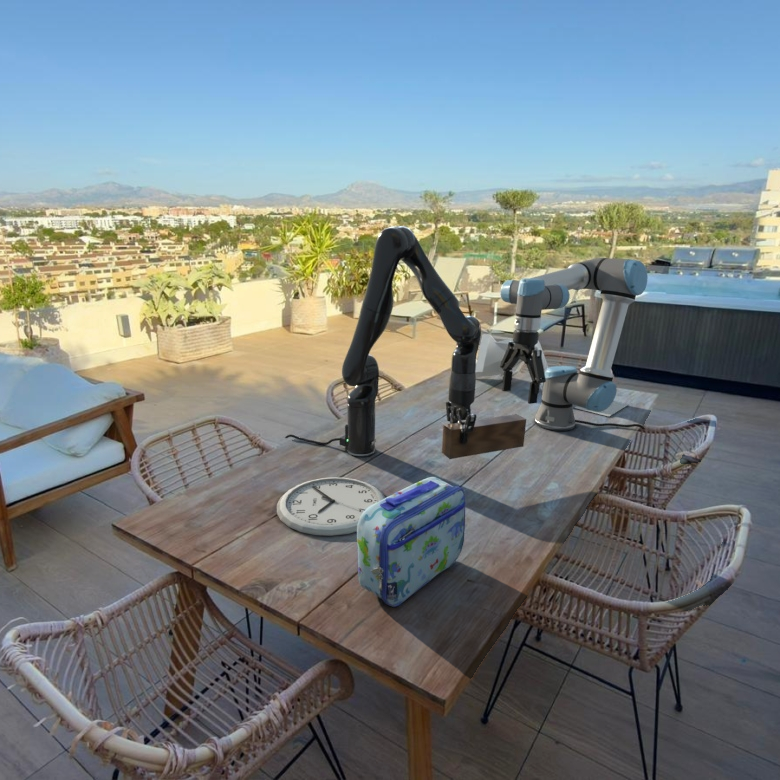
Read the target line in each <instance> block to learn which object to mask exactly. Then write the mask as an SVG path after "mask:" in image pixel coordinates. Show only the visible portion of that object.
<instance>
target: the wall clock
mask: <svg viewBox="0 0 780 780" xmlns="http://www.w3.org/2000/svg"><path fill="white" fill-rule="evenodd" d="M385 498H386V496H385V494H384V493H383V492H382V491H381V490H380V489H379V488H377V487H376V486H374V485H372V484H371V483H369V482H365V481H362V480H359V479H355V478H349V477H338V476H337V477H335V476H333V477H332V476H331V477H322V478H317V479H312V480H307V481H305V482H302V483H299V484H297V485H295V486H293V487H292V488H290V489H288V490H287V491H286V492H285V493H284V494H283V495H281V496H280V498H279V499H278V502H277V503H276V515H277V517H278V518H279V520H280V521H281V522H282V523H283V524H285V525H286V526H287V527H288V528H290V529H293V530H295V531H297V532H299V533H303V534H308V535H312V536H327V537H328V536H329V537H331V536H332V537H333V536H342V535H350V534H352V533H357V526H358V522H359V519H360V517H361V515H362V513H363V512H364V511H365V510H366V509H367V508H368V507H369V506H371V505H373V504H375V503H377V502H379V501H381V500H383V499H385Z"/></svg>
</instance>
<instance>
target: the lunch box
mask: <svg viewBox="0 0 780 780" xmlns="http://www.w3.org/2000/svg"><path fill="white" fill-rule="evenodd" d="M465 528H466V494H465V490H464V489H463V487H461V486H458V485H456V486H454V485H451V484H450V483H448V482H446V481H444V480H442V479H440V478H438V477H436V476H430V477H426V478H424V479H421V480H420V481H417V482H415V483H413V484H411V485H409V486H407V487H405V488H402V489H401V490H399V491H396V492H395V493H393V494H390V495H389V496H387V497H385V499H383V500H381V501H379V502H377V503H375V504H373V505H371V506H369V507H368V508H367V509H366V510H365V511H364V512H363V513H362V515H361V517H360V519H359V522H358V526H357V532H356V549H357V550H356V551H357V552H356V553H357V577H358V583H359V585H360V587H361V588H362V589H364V590H366V591H368V592H370V593H372V594H374V595H375V596H377V598H379V599H381V600H382V602H383V603H384V604H385V605H387V606H390V607H393V608H394V607H398V606H400V605H402V604H403V603H404V602H405V601H406V600H408V599H409V598H410V597H411V596H412V595H414V594H416V592H418V591H419V590H420V589H422V588H423V587H424V586H426V585H427V584H428V583H430V582H431V581H432V579H434V578H435V577H436V576H438V575H439V574H440V573H442V572H444V571H446V570H447V569H449V568H450V567H451V566H452V565H454V563H456V561H457V560H458V558H459V557H460V555H461V553H462V550H463V547H464V542H465V530H466V529H465Z"/></svg>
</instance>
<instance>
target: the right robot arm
mask: <svg viewBox="0 0 780 780" xmlns="http://www.w3.org/2000/svg"><path fill="white" fill-rule="evenodd" d="M648 278H649V277H648V271H647V267H646V265H645V264H644V263H643V262H642V261H641V260H637V259H630V258H610V257H596V258H591V259H587V260H582V261H580V262H575V263H572V264H570V265H569V266H568V267H567V268H564V269H560V270H556V271H552V272H548V273H544V274H540V275H537V276H533V277H530V278H525V277H524V278H521V279H520V280H515V279H508V280H506V281H504V282H503V283H502V285H501V288H500V298H501V300H502V301H503V302H505V303H507V304H511V305H516V306H515V307H516V309H515V317H514V326H513V329H514V330H513V334H512V338H513V342H509V343H508V348H507V350H506V353H505V355H504V357H503V359H502V362H501V364H500V367H501V368H503V371H504V375H502V376H503V377H502V380H503V382H502V390H501V391H502V392H510V391H511V389H512V380H513V368H515V367H514V365H515V364H516V363H517V362H518V360H522V362H523V363H524V364H525V365H526V367H527V370H528V373H529V376H530V379H531V382H530V383H529V390H528V391H529V393H528V399H527V403H528V404H530V405H532V404H537V403H538V395H539V393H540V383H541V384H542V394H541V402H540V405H539V407H538V410H537V411H536V413H535V416H534V424H535V425H536V426H537V427H539V428H542V429H544V430H549V431H556V432H567V431H572V430H574V429H575V428H576V423H577V424H584V425H588V426H593V427H620V428H634V427H638V428H640V429H641V430H646V428H645V426H643V424H642V425H641V424H639V423H633V424H632V423H630V424H623V423H614V422H613V423H612V422H604V423H594V422H590V421H587V420H580V419H576V418H575V417H576V416H575V413H574V407H573V406H575V407H576V406H579V407H583V408H586V409H587V410H592V411H596V412H601V411H604V410H606V409H607V408H608V407H609V406H610V405H611V404H612V402H613V401H614V400H615V398H616V396H617V392H618V390H617V388H618V387H617V384H616V383H615V382H614V381H613V380H614V375H613V373H612V372H611V370H612V367H613V363H614V360H615V356H616V352H617V349H618V346H619V342H620V338H621V334H622V331H623V327H624V323H625V320H626V316H627V313H628V308H629V306H630V305H631V304H632V303H634V302H635V301H636V296H637V297H638V296H640V295H642V294H643V293H644V291H645V290H646V288H647V285H648ZM570 290H575V291H579V290H594V291H600V293H599V296H600V297H601V299H602V303H601V307H600V311H599V313H598V317H597V321H596V325H595V329H594V333H593V336H592V340H591V344H590V347H589V352H588V354H587V359H586V363H585V366H583V367H582V368H580V369H579V372H578V368H577V367H576V366H571V365H570V366H569V365H557V366H556V365H555V366H550V367H549V366H548V367H549V368H547V369H546V371H545V369H544V366H543V363H542V350H543V349H542V350H535V345H536V344H537V343H538V340H539V336H540V333H539V330H540V329H541V318H542V311H545V310H559V309H562V308H565V307H566V306H567V305H568V303H569V301H570V299H571V298H570V296H571V295H570ZM530 359H531V360H530ZM535 378H536V379H535Z"/></svg>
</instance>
